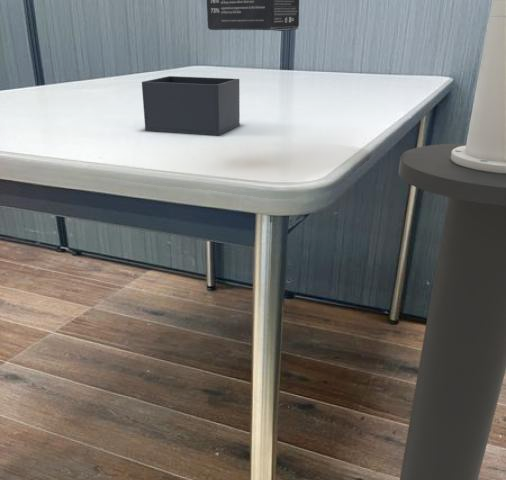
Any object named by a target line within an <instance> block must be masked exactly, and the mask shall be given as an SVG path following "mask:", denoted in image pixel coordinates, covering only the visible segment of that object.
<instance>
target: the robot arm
mask: <svg viewBox="0 0 506 480" xmlns="http://www.w3.org/2000/svg"><path fill="white" fill-rule="evenodd" d="M485 31H486V32H485V37H484V42H483V47H482V54H481V58H480V59H481V60H480V64H479V70H478V77H477V82H476V87H475V93H474V99H473V104H472V109H471V116H470V120H469V127H468V132H467V136H466V137H467V139H466V142H465V143H466V146H460V147H457V148H455V149H453V150H452V152H451V160H452V162H454V163H455V164H457V165H460V166H462V167H466V168H469V169H473V170H478V171H484V172H490V173H498V174H506V0H491V4H490V10H489V15H488V19H487V27H486V30H485Z"/></svg>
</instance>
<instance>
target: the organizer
mask: <svg viewBox="0 0 506 480" xmlns="http://www.w3.org/2000/svg"><path fill="white" fill-rule="evenodd" d="M141 88H142V89H141V90H142V104H143V116H144V130H145V131H146V132H160V133H176V134H191V135H207V136H221V135H222V134H225V133H227V132H229V131H231V130H232V129H235V128H237V127H238V126H240V123H241V122H240V117H241V116H240V78H227V77H225V78H224V77H204V76H203V77H201V76H175V75H167V76H163V77H159V78H153V79H149V80H143V81H141Z"/></svg>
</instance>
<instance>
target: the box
mask: <svg viewBox="0 0 506 480" xmlns="http://www.w3.org/2000/svg"><path fill="white" fill-rule="evenodd" d="M206 13H207V15H206V16H207V18H206V19H207V20H206V22H207V28H208V30H210V31H276V32H285V31H295V30H298V29H299V26H300V0H206Z"/></svg>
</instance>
